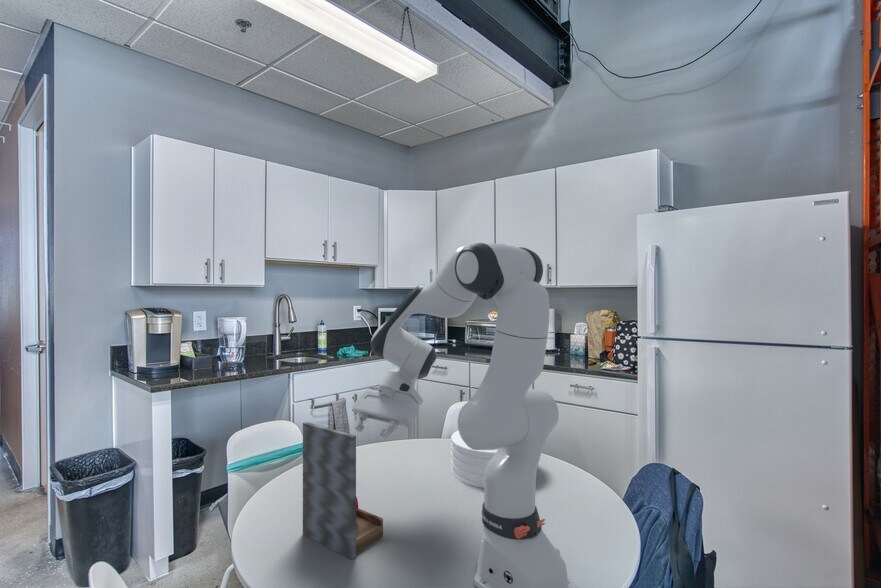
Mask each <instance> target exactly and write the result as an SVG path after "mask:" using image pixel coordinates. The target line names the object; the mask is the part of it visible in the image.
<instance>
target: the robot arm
mask: <svg viewBox="0 0 881 588" xmlns="http://www.w3.org/2000/svg"><path fill="white" fill-rule="evenodd" d="M543 275H544V267H543V262H542V259H541V257H540V256H539V255H538V254H537V252H534V251H533V250H531V249H529V248H526V247H518V246H512V245H508V244H505V243H484V242H476V243H473V244H469V245H463V246H460V247H458V248H456V249H455V251H453V252H452V254H451V255H450V256H449V257H448V259H447V260H446V262H445V263H444V264H443V266H442V267H441V269H440V270H439V272H438V274H437V276H436V277H435V279H433V280H432V281H430V282H429V283H427V284H419V285H417V286H416V287H414V288H413V290H411V292H409V294H408V295H407V296H406V297H405V298H404V299H403V300H402V301H401V303H400V304H399V305H398V306H397V308H396V309H395V310H394V311H393V312H392V314H391V315H390V316H389V318H387V320H386V321H385V322H384V323H383V324H381V325H380V326H379V327H378V328H377V329H376V330H375V331H374V333H373V335H372V337H371V340H370V343H369V344H370V347H371V350H372V353H373V354H374V356H376V357H378V358H381V359H383V360H386V362H387V361H388V362H389V363H391V364H392V367H391V368H390V370H389V371H387V372H386V374H385V376H384V378H383V380H382V381H381V383H380V384H379V386H377V387H376V386H370V387H368V388H366V389H365V390H363V392H362V393H361V394H360V395H359V396H358V398H357V399H356V400H355V402H354V403H353V404H352V411H353V412H354V414H356V416H357V423H356V425H355V427H354V429H355V430H356V432H359V433H362V432H363V431H364V429H365V426H364V422H366V420H367V419H370V420H373V421H379V422H383V423H386V424H389V425H388V426H387V427H386V428H382V430H381V432H380V434H379V435H380V437H382V438H384V439H388V438H389V437H390V435H391V434H392V433H393V432H395V430H397V429H398V427H399V426H402V427H405V428H409V427H411V426H412V425H413V423H414V422H415V420H416V418H417V416H418V413H419V410H420V406H421V405H422V403H424V402H423V401H424V400H423V398H422V396H421V395H420V394H419V392H418V391H417V390H416V389H415V384H416V382H417V381H418V380H422V379H423V378H427V377H428V376H429V374H430V370H431V368H432V367H433V365H434V364H435V362H436V360H437V353H436V350H435V348H434V347H433V346H432V345H431V344H429V343H428V342H426V341H425V340H422V339H421V338H419V337H417V336H415V335H414V334H412V333H410V332H409V331H407V330H405V329H403V327H402V325H404V323H405V322H406V321H407V320H408V319H409V318H410V317H411V316H412V315H414V314H425V315H430V316H434V317H438V318H442V319H451V318H457V317H460V316H462V315H463V314H465V313H466V312H467V310H469V308H470V307H471V305H472V304H473V303H474V302H475V300H476V298H477V297H479V298H481V299H483V300H485V301H488V300H491V299H492V298H493V300H494V301H495V304H496V306H497V307H496V308H497V317H496V322H495V329H494V335H493V336H494V337H493V344H492V350H491V357H490V361H489V365H488V367H487V371H486V373H485V375H484V377H483V379H482V381H481V383H480V384H479V387H478V389H477V390H476V391H475V393H474V394H473V396H472V397H471V398H470V399H469V400H468V401H467V402H466V403H465V404H464V405H463V406H462V407H461V408H460V410H459V413H458V416H457V431H458V430H459V434H460V436H461V438H462V440H463V441H464V442H465V444H466V445H467V446H468V447H470V448H471V449H474V450H496V449H497V452H496V453H495V455H494V456H493V458H492V459H491V460H490V461H489V463H488V464H487V466H486V469H485V473H484V488H483V489H484V491H483V494H484V495H483V496H484V497H483V498H484V500H483V503H482V506H481V522H482V525H483V528H482V534H481V536H480V537H481V538H480V543H479V553H478V560H477V564H476V568H475V569H476V574H475V576H474V580H473V585H474V586H475V587H476V588H579V587H578V586H577V585H576V584H575V583H574V582H573V581H572V580H570V578H568V571H567V565H566V563H565V560H564V559H563V557H562V556H561V553H560V550H559V547H557V546H556V545H553V544H552V543H553V542H551V540H550V538H549V537H548V536H547V535H546V533H545V532H544V530H543V529H542V527H543V526H544V525H546V522H545V521H546V519H545V518H542V519H540V514H539V511H538V509H537V505H536V488H537V487H536V485H537V484H536V483H537V472H538V466H539V462H540V460H541V456H542V453H543V450H544V447H545V445H546V442H547V439H548V437H549V436H550V434H551V432H552V431H553V430H554V429H555V427H556V426H557V423H558V421H559V414H560V413H559V407H558V404H557V402H556V401H555V398H554V397H553V396H552V395H551V394H550V393H549V392H547V391H545V390H542V389H534V388H533V389H532V388H530V387H531V386H532V384H534V382H535V381H536V380H537V379H538V378H540V376H541V374H542V372H543V370H544V366H545V365H544V364H545V357H546V350H547V344H548V336H549V327H550V295H549V292H548V290H547V289H546V288H545V286H544V285H543V284H541V281H542V278H543Z"/></svg>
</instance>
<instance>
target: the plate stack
mask: <svg viewBox="0 0 881 588" xmlns="http://www.w3.org/2000/svg"><path fill="white" fill-rule="evenodd" d="M450 442H451V444H450V456H451V458H450V459H451V460H450V465H451V466H450V472H451V475H452V476H453V478H455V479H456V480H457V481H460V482H461V483H463V484H466V485H468V486H472V487H475V488H476V487H477V488H483V489H484V473H485V469H486V466H487V464H488V463H489V461H490V460H491V459H492V458H493V456H494V455H495V453H496V452H497V449H496V450H474V449H471V448H470V447H468V446H467V445H466V444H465V442H464V441H463V440H462V438H461V436H460V434H459V430H458V429H457V430H456V431H455V432H453V433H452V434H451V436H450Z"/></svg>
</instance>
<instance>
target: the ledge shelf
mask: <svg viewBox="0 0 881 588" xmlns="http://www.w3.org/2000/svg"><path fill="white" fill-rule="evenodd" d="M356 497H357V435H356V434H351V433H348V432H345V431H340V430H337V429H334V428H329V427H326V426H323V425H320V424H315V423H312V422H308V421H306V422H302V535H304V536H305V537H308V538H309V539H311V540H313V541H314V542H317V543H318V544H321V545H323V546H324V547H327V548H328V549H330V550H333V551H334V552H337V553H339V554H340V555H342V556H344V557H346V558H348V559H350V560H354V559H356V557H357V554H358V553H360V552H361V551H362V550H364V549H366V548H367V547H369V546H371V545H372V544H374V543H375V542H377V541H379V540H380V539H382V538H383V537H384V518H383V517H380V516H378V515H375V514H373V513H371V512H369V511H366V510H363V509H360V508H359V507H358V510H357V512H356Z"/></svg>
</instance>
